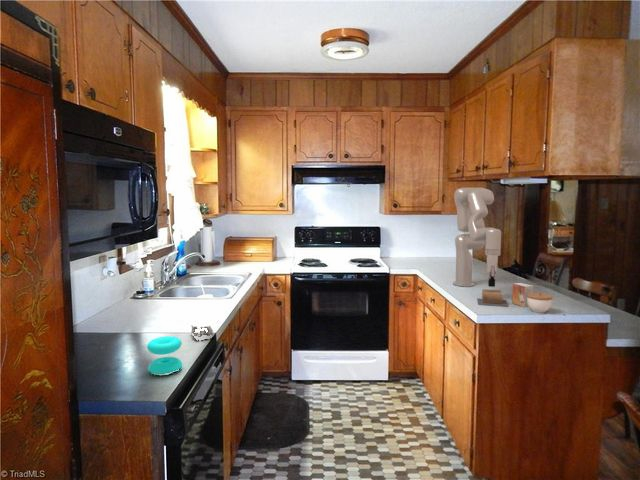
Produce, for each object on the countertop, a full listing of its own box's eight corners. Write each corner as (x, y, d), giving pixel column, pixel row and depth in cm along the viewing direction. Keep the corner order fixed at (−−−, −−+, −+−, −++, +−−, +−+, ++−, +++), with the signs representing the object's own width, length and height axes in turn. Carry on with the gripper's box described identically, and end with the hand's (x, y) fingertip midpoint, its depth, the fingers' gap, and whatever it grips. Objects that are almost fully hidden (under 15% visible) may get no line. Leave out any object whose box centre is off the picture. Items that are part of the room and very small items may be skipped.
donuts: (187, 335, 137) (170, 346, 127) (188, 366, 138) (172, 378, 128) (158, 334, 139) (140, 344, 129) (159, 364, 140) (141, 376, 130)
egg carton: (190, 334, 170) (190, 324, 170) (210, 332, 173) (209, 322, 173) (193, 342, 161) (193, 332, 160) (214, 340, 164) (213, 329, 163)
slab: (482, 289, 228) (483, 293, 217) (500, 290, 225) (502, 294, 214) (482, 297, 228) (483, 302, 217) (500, 298, 226) (502, 303, 214)
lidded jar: (550, 315, 196) (551, 295, 195) (525, 312, 201) (525, 292, 200) (552, 310, 205) (553, 291, 204) (527, 307, 210) (528, 288, 209)
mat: (477, 299, 227) (477, 298, 227) (505, 301, 223) (505, 300, 223) (478, 304, 216) (478, 303, 216) (508, 306, 211) (508, 305, 211)
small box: (511, 303, 218) (512, 283, 217) (520, 302, 220) (520, 282, 219) (524, 307, 211) (525, 286, 210) (532, 306, 213) (533, 285, 211)
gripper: (484, 250, 235) (483, 283, 236) (485, 253, 220) (484, 288, 222) (499, 250, 232) (498, 284, 234) (501, 254, 218) (500, 289, 220)
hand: (491, 286), depth 228 cm, fingers closed
